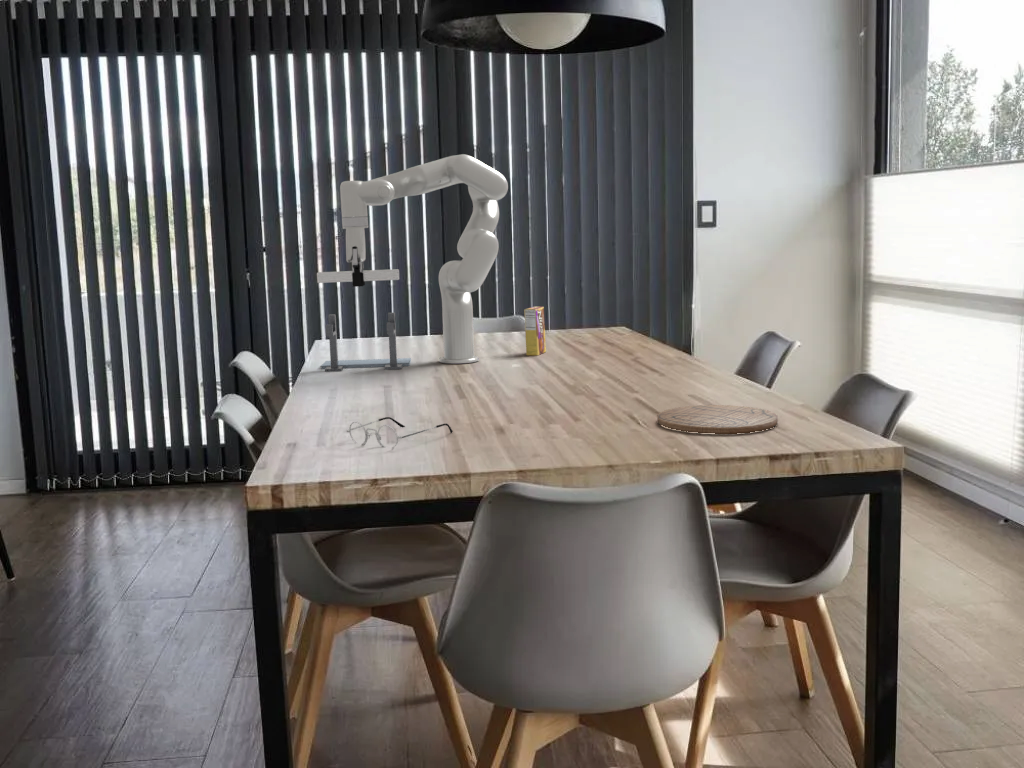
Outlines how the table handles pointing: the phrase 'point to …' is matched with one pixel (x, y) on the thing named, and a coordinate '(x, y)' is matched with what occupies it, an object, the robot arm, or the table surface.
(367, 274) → the steel rail
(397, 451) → the table surface
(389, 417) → the eyeglasses
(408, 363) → the rubber mat
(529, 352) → the candy box
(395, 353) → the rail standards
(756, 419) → the trivet
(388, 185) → the robot arm
